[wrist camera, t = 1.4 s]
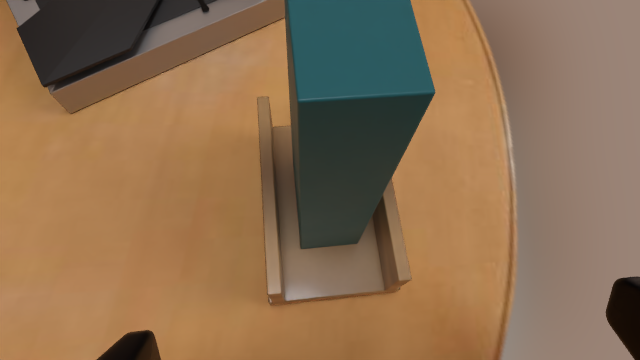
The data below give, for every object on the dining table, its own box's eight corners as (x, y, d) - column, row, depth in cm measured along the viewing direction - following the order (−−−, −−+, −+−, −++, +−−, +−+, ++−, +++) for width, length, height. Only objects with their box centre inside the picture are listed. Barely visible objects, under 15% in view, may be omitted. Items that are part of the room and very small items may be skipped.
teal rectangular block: (358, 244, 20) (436, 92, 8) (300, 249, 20) (296, 102, 8) (345, 158, 22) (394, -63, 10) (293, 162, 22) (281, -59, 10)
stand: (396, 292, 20) (416, 279, 17) (269, 305, 20) (262, 295, 16) (366, 128, 24) (378, 89, 21) (260, 135, 24) (253, 97, 20)
